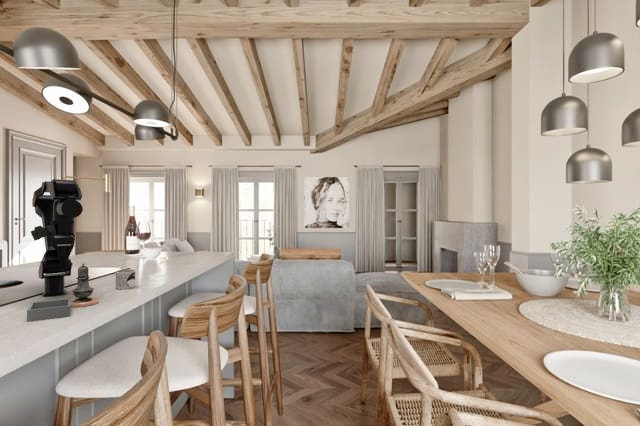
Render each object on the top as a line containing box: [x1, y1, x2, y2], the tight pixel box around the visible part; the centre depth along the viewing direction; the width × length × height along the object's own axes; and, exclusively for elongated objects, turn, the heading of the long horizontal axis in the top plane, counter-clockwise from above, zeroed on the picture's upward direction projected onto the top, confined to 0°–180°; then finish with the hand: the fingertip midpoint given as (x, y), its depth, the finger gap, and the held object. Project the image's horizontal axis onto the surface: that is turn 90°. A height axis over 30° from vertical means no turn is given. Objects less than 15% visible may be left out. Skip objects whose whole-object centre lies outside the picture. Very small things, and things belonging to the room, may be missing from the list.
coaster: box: [71, 296, 100, 308], centre depth 116 cm, size 8×8×1 cm
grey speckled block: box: [115, 269, 136, 291], centre depth 141 cm, size 10×7×7 cm, turn 5°
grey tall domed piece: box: [71, 262, 94, 303], centre depth 116 cm, size 6×6×12 cm
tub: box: [26, 298, 72, 323], centre depth 104 cm, size 10×10×3 cm
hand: (63, 264), depth 120 cm, fingers open, 9 cm apart
